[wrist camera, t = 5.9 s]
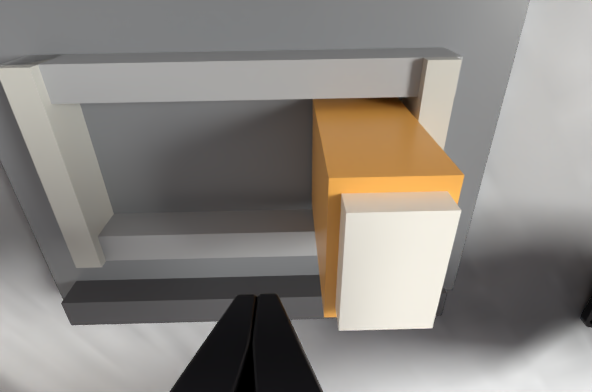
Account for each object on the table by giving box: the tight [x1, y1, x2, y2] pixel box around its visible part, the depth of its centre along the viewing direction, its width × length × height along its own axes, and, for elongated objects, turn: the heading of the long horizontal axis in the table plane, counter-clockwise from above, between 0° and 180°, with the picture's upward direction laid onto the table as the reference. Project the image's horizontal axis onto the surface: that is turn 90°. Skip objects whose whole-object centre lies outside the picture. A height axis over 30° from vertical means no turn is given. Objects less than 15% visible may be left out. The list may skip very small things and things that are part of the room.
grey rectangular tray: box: [0, 0, 530, 300], centre depth 14 cm, size 19×15×3 cm
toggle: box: [312, 97, 464, 331], centre depth 12 cm, size 3×4×7 cm
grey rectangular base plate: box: [61, 275, 447, 325], centre depth 14 cm, size 17×15×1 cm
